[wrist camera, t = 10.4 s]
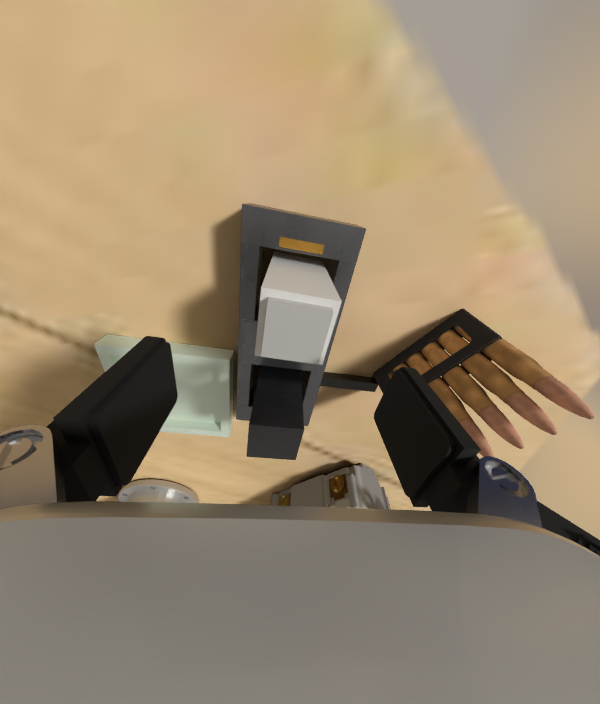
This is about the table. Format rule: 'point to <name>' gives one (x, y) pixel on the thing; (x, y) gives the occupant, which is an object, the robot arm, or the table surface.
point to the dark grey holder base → (275, 374)
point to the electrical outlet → (337, 491)
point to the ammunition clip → (482, 378)
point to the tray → (189, 384)
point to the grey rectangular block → (296, 310)
